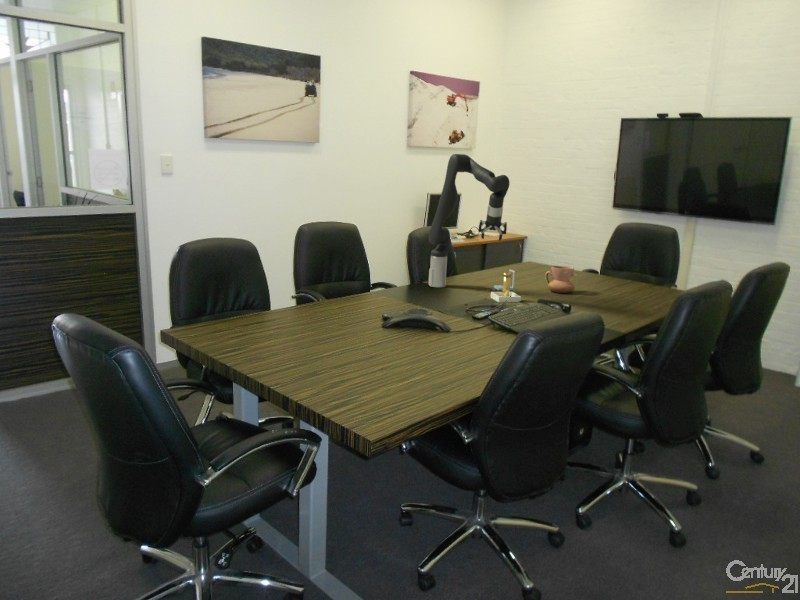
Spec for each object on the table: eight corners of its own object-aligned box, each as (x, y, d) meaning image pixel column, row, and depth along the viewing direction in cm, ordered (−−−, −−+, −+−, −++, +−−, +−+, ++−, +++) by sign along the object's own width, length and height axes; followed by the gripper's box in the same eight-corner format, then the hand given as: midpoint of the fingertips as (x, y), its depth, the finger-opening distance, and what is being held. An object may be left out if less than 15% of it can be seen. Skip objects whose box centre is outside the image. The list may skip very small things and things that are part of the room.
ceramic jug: (580, 292, 332) (582, 267, 329) (570, 295, 320) (572, 269, 318) (549, 288, 342) (551, 263, 340) (539, 291, 331) (541, 266, 328)
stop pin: (502, 299, 304) (504, 274, 301) (499, 297, 308) (501, 272, 305) (511, 299, 305) (513, 274, 302) (508, 297, 309) (509, 272, 306)
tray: (498, 302, 300) (498, 297, 299) (490, 297, 311) (490, 292, 311) (520, 302, 302) (521, 296, 301) (512, 296, 314) (512, 291, 313)
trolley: (497, 296, 313) (499, 271, 310) (492, 293, 320) (494, 269, 317) (514, 296, 315) (516, 271, 312) (509, 293, 322) (511, 269, 319)
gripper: (509, 209, 300) (505, 236, 310) (480, 207, 301) (477, 233, 312) (509, 217, 294) (504, 244, 305) (480, 215, 296) (477, 241, 306)
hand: (491, 239), depth 308 cm, fingers open, 8 cm apart
